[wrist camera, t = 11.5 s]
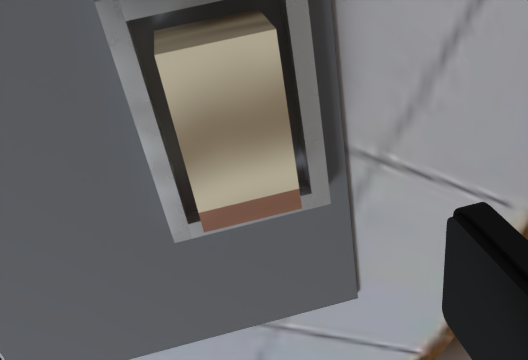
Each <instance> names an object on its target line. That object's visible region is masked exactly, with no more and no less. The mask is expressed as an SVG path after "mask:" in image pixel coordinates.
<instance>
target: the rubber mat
mask: <svg viewBox="0 0 528 360" xmlns="http://www.w3.org/2000/svg"><path fill="white" fill-rule="evenodd" d="M308 7H309V16H310V25H311V33H312V42H313V51H314V60H315V68H316V77H317V86H318V95H319V104H320V112H321V121H322V130H323V139H324V147H325V156H326V165H327V174H328V183H329V191H330V200H331V204H328V205H324V206H320V207H316V208H312V209H308V210H304V211H300V212H296V213H292V214H288V215H284V216H280V217H276V218H272V219H268V220H264V221H260V222H256V223H252V224H248V225H244V226H240V227H236V228H233V229H229V230H225V231H221V232H217V233H213V234H209V235H205V236H201V237H197V238H193V239H189V240H185V241H181V242H177V243H174V240H173V237H172V234H171V231H170V228H169V225H168V222H167V219H166V216H165V213H164V210H163V207H162V204H161V201H160V198H159V195H158V192H157V189H156V186H155V183H154V180H153V177H152V174H151V171H150V168H149V165H148V162H147V159H146V156H145V153H144V150H143V146H142V143H141V140H140V137H139V134H138V131H137V128H136V125H135V122H134V119H133V116H132V113H131V110H130V107H129V104H128V101H127V98H126V95H125V92H124V89H123V86H122V83H121V80H120V77H119V74H118V71H117V68H116V65H115V62H114V59H113V56H112V53H111V50H110V47H109V44H108V41H107V38H106V35H105V32H104V29H103V26H102V23H101V20H100V17H99V14H98V11H97V8H96V5H95V0H0V353H1V354H2V356H3V357H4V359H5V360H129V359H133V358H136V357H140V356H144V355H148V354H151V353H155V352H159V351H163V350H166V349H170V348H174V347H177V346H181V345H185V344H189V343H192V342H196V341H200V340H204V339H207V338H211V337H215V336H218V335H222V334H226V333H230V332H233V331H237V330H241V329H245V328H248V327H252V326H256V325H260V324H263V323H267V322H271V321H274V320H278V319H282V318H286V317H289V316H293V315H297V314H301V313H304V312H308V311H312V310H315V309H319V308H323V307H327V306H330V305H334V304H338V303H342V302H345V301H349V300H353V299H357V298H358V295H357V284H356V273H355V262H354V251H353V240H352V229H351V218H350V207H349V196H348V185H347V173H346V162H345V151H344V140H343V129H342V118H341V107H340V96H339V85H338V74H337V63H336V52H335V41H334V29H333V18H332V7H331V0H308ZM255 9H259V10H260V11H261V12H262V14H263V15H264V16H265V17H266V18H267V19H268V20H269V22H270V23H271V24H272V25H273V26H274V27H275V28H276V32H277V39H278V46H279V53H280V59H281V66H282V73H283V80H284V87H285V94H286V101H287V108H288V115H289V122H290V129H291V135H292V142H293V149H294V156H295V163H296V170H297V177H298V182H299V181H303V180H305V177H304V170H303V163H302V156H301V149H300V142H299V135H298V128H297V121H296V114H295V107H294V100H293V93H292V86H291V79H290V72H289V65H288V58H287V51H286V44H285V37H284V30H283V23H282V16H281V9H280V2H279V0H222V1H217V2H212V3H208V4H203V5H198V6H194V7H189V8H185V9H180V10H175V11H171V12H166V13H161V14H157V15H152V16H147V17H143V18H138V19H133V20H129V21H130V25H131V28H132V31H133V35H134V38H135V41H136V44H137V48H138V51H139V54H140V58H141V61H142V64H143V68H144V71H145V74H146V77H147V81H148V84H149V87H150V91H151V94H152V97H153V101H154V104H155V107H156V111H157V114H158V117H159V120H160V124H161V127H162V130H163V134H164V137H165V140H166V144H167V147H168V150H169V153H170V157H171V160H172V163H173V167H174V170H175V173H176V177H177V180H178V183H179V186H180V190H181V193H182V196H183V200H184V203H185V206H186V209H190V208H194V207H197V206H196V202H195V199H194V195H193V192H192V188H191V184H190V181H189V177H188V174H187V170H186V167H185V163H184V159H183V156H182V152H181V149H180V145H179V142H178V138H177V135H176V131H175V127H174V124H173V120H172V117H171V113H170V110H169V106H168V102H167V99H166V95H165V92H164V88H163V85H162V81H161V77H160V74H159V70H158V67H157V63H156V60H155V56H154V31H155V30H160V29H165V28H170V27H174V26H179V25H184V24H189V23H193V22H198V21H203V20H208V19H212V18H217V17H222V16H227V15H231V14H236V13H241V12H246V11H250V10H255Z"/></svg>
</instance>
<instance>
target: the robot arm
mask: <svg viewBox="0 0 528 360" xmlns="http://www.w3.org/2000/svg"><path fill="white" fill-rule="evenodd" d="M442 311H443V315H444V318H445V320H446V322H447V324H448V326H449V327H450V329H451V330H452V331H453V333H454V334H455V336H456V337H457V339H458V340H459V341H460V343H461V344H462V346H463V347H464V349H465V350H466V351H467V353H468V354H469V356H470V357H471V359H472V360H528V240H527V239H526V238H525V237H523V236H522V235H521V234H520V233H519V232H518V231H517V230H516V229H515V228H514V227H513V226H511V225H510V224H509V223H508V222H507V221H506V220H505V219H504V218H503V217H502V216H501V215H500V214H498V213H497V212H496V211H495V210H494V209H493V208H492V207H491V206H490V205H488V204H487V203H485V202H480V203H476V204H472V205H468V206H464V207H460V208H457V209H456V210H455V211H454V214H453V217H450V218H449V219H448V220H447V231H446V248H445V265H444V283H443V300H442ZM0 360H1V358H0Z"/></svg>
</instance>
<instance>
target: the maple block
mask: <svg viewBox="0 0 528 360" xmlns="http://www.w3.org/2000/svg"><path fill="white" fill-rule="evenodd" d="M154 56H155V60H156V63H157V67H158V70H159V74H160V77H161V81H162V85H163V88H164V92H165V95H166V99H167V102H168V106H169V110H170V113H171V117H172V120H173V124H174V127H175V131H176V135H177V138H178V142H179V145H180V149H181V152H182V156H183V159H184V163H185V167H186V170H187V174H188V177H189V181H190V184H191V188H192V192H193V195H194V199H195V202H196V206H197V209H198V213H199V216H200V220H201V224H202V227H203V231H204V232H208V231H213V230H217V229H221V228H225V227H229V226H233V225H237V224H241V223H245V222H249V221H253V220H257V219H261V218H265V217H269V216H274V215H278V214H282V213H286V212H290V211H294V210H298V209H302V205H301V198H300V191H299V184H298V177H297V170H296V163H295V156H294V149H293V142H292V135H291V129H290V122H289V115H288V108H287V101H286V94H285V87H284V80H283V73H282V66H281V59H280V53H279V46H278V39H277V32H276V28H275V27H274V26H273V25H272V24H271V23H270V22H269V20H268V19H267V18H266V17H265V16H264V15H263V14H262V12H261V11H260V10H259V9H255V10H250V11H246V12H241V13H236V14H231V15H227V16H222V17H217V18H212V19H208V20H203V21H198V22H193V23H189V24H184V25H179V26H174V27H170V28H165V29H160V30H155V31H154Z"/></svg>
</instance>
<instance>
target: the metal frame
mask: <svg viewBox="0 0 528 360" xmlns="http://www.w3.org/2000/svg"><path fill="white" fill-rule="evenodd" d="M217 1H222V0H95V5H96V8H97V11H98V14H99V17H100V20H101V23H102V26H103V29H104V32H105V35H106V38H107V41H108V44H109V47H110V50H111V53H112V56H113V59H114V62H115V65H116V68H117V71H118V74H119V77H120V80H121V83H122V86H123V89H124V92H125V95H126V98H127V101H128V104H129V107H130V110H131V113H132V116H133V119H134V122H135V125H136V128H137V131H138V134H139V137H140V140H141V143H142V146H143V150H144V153H145V156H146V159H147V162H148V165H149V168H150V171H151V174H152V177H153V180H154V183H155V186H156V189H157V192H158V195H159V198H160V201H161V204H162V207H163V210H164V213H165V216H166V219H167V222H168V225H169V228H170V231H171V234H172V237H173V240H174V243H177V242H181V241H185V240H189V239H193V238H197V237H201V236H205V235H209V234H213V233H217V232H221V231H225V230H229V229H233V228H236V227H240V226H244V225H248V224H252V223H256V222H260V221H264V220H268V219H272V218H276V217H280V216H284V215H288V214H292V213H296V212H300V211H304V210H308V209H312V208H316V207H320V206H324V205H328V204H331V200H330V191H329V183H328V174H327V165H326V156H325V147H324V139H323V130H322V121H321V112H320V104H319V95H318V86H317V77H316V68H315V60H314V51H313V42H312V33H311V25H310V16H309V7H308V0H279V2H280V9H281V16H282V23H283V30H284V37H285V44H286V51H287V58H288V65H289V72H290V79H291V86H292V93H293V100H294V107H295V114H296V121H297V128H298V135H299V142H300V149H301V156H302V163H303V170H304V177H305V180H303V181H299V182H298V184H299V191H300V198H301V205H302V209H298V210H294V211H290V212H286V213H282V214H278V215H274V216H269V217H265V218H261V219H257V220H253V221H249V222H245V223H241V224H237V225H233V226H229V227H225V228H221V229H217V230H213V231H208V232H204V231H203V227H202V224H201V220H200V216H199V213H198V209H197V207H194V208H190V209H186V206H185V203H184V200H183V196H182V193H181V190H180V186H179V183H178V180H177V177H176V173H175V170H174V167H173V163H172V160H171V157H170V153H169V150H168V147H167V144H166V140H165V137H164V134H163V130H162V127H161V124H160V120H159V117H158V114H157V111H156V107H155V104H154V101H153V97H152V94H151V91H150V87H149V84H148V81H147V77H146V74H145V71H144V68H143V64H142V61H141V58H140V54H139V51H138V48H137V44H136V41H135V38H134V35H133V31H132V28H131V25H130V21H129V20H133V19H138V18H143V17H147V16H152V15H157V14H161V13H166V12H171V11H175V10H180V9H185V8H189V7H194V6H198V5H203V4H208V3H212V2H217Z"/></svg>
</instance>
